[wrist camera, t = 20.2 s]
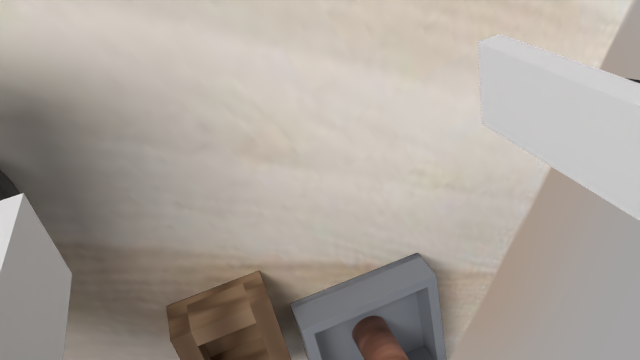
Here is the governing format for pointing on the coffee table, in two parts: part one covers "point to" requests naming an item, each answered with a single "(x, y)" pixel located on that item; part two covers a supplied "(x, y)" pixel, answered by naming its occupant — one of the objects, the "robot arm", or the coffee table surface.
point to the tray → (375, 312)
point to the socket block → (227, 323)
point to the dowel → (377, 340)
